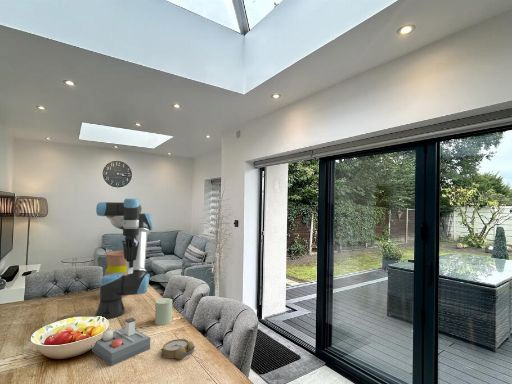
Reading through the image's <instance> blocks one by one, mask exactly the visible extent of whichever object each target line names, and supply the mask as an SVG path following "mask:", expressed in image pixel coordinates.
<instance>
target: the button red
mask: <svg viewBox="0 0 512 384" xmlns="http://www.w3.org/2000/svg"><path fill="white" fill-rule="evenodd" d="M121 345H122V339H115V340H113V341H112V344H111V347H112V348H116V347H119V346H121Z"/></svg>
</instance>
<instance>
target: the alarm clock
mask: <svg viewBox="0 0 512 384" xmlns="http://www.w3.org/2000/svg"><path fill="white" fill-rule="evenodd" d="M195 348H196V346H195V344H194V342H193V341H192V340H188V339H185V338H177V339H172V340H169V341H167V342H166V343H164V344H163V345H162V348H160V351H162V355H163V357H164V358H166V359H177V360H183V359H184V358H185V357H186V356H189V355H191V354H193V353H194V352H195Z"/></svg>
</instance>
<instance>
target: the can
mask: <svg viewBox="0 0 512 384" xmlns="http://www.w3.org/2000/svg"><path fill="white" fill-rule="evenodd" d="M154 304H155V305H154V306H155V311H154V312H155V314H154V324H155V325H156V326H166V325H169V324H171V323H172V322H173V299H172V298H170V297H164V298H159V299H156V300H155V303H154Z"/></svg>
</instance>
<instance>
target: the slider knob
mask: <svg viewBox="0 0 512 384" xmlns="http://www.w3.org/2000/svg"><path fill="white" fill-rule="evenodd" d="M124 322H125V325H124V328H125V335H127V336H131V335H133V334H135V330H136V319H135V318H134V317H129V318H127V319H125V320H124Z"/></svg>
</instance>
